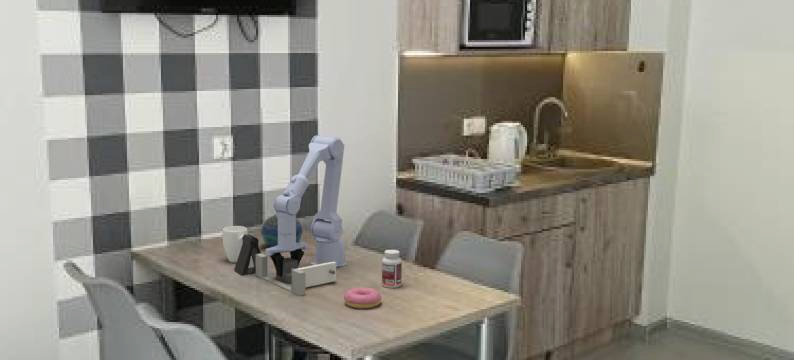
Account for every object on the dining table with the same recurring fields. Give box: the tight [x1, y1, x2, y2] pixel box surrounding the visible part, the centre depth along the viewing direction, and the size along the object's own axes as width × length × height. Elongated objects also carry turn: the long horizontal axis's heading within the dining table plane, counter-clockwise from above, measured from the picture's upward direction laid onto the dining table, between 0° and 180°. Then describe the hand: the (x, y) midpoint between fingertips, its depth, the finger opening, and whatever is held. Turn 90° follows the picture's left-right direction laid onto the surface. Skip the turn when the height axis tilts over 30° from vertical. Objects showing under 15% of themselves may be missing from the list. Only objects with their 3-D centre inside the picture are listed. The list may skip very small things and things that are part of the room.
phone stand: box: [233, 233, 262, 276], centre depth 264 cm, size 9×6×12 cm, turn 125°
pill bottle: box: [381, 249, 403, 289], centre depth 253 cm, size 6×6×11 cm
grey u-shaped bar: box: [255, 253, 306, 297], centre depth 251 cm, size 2×26×7 cm, turn 40°
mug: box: [222, 225, 248, 264], centre depth 275 cm, size 12×8×11 cm
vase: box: [260, 213, 304, 248], centre depth 296 cm, size 15×15×13 cm
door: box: [294, 262, 337, 288], centre depth 250 cm, size 3×15×6 cm, turn 130°
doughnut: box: [343, 286, 382, 309], centre depth 235 cm, size 11×11×4 cm
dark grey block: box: [275, 256, 299, 284], centre depth 257 cm, size 5×8×6 cm, turn 40°
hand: (286, 273), depth 258 cm, fingers closed on dark grey block, 5 cm apart
